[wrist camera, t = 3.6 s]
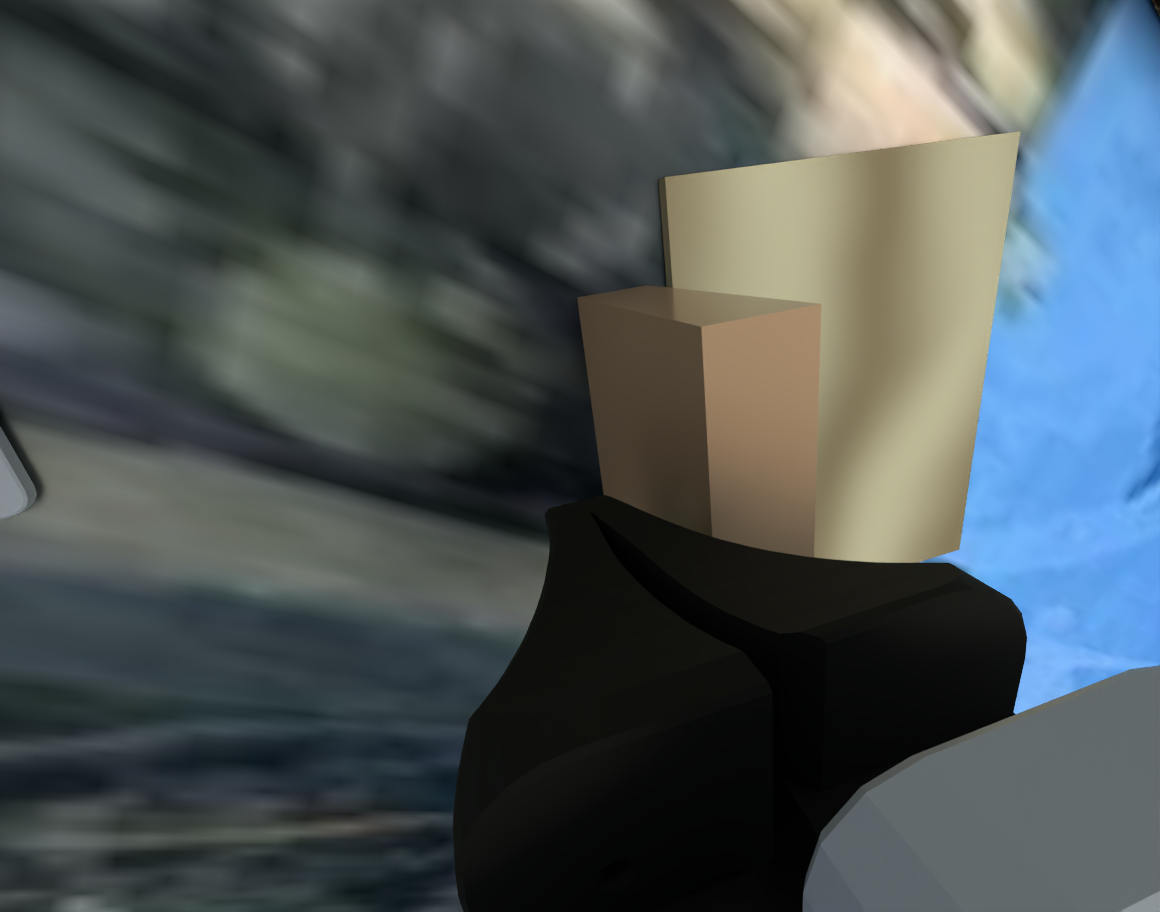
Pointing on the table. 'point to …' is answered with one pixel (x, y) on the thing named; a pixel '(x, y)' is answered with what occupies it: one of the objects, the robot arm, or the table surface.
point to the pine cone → (1157, 5)
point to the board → (869, 316)
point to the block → (708, 410)
